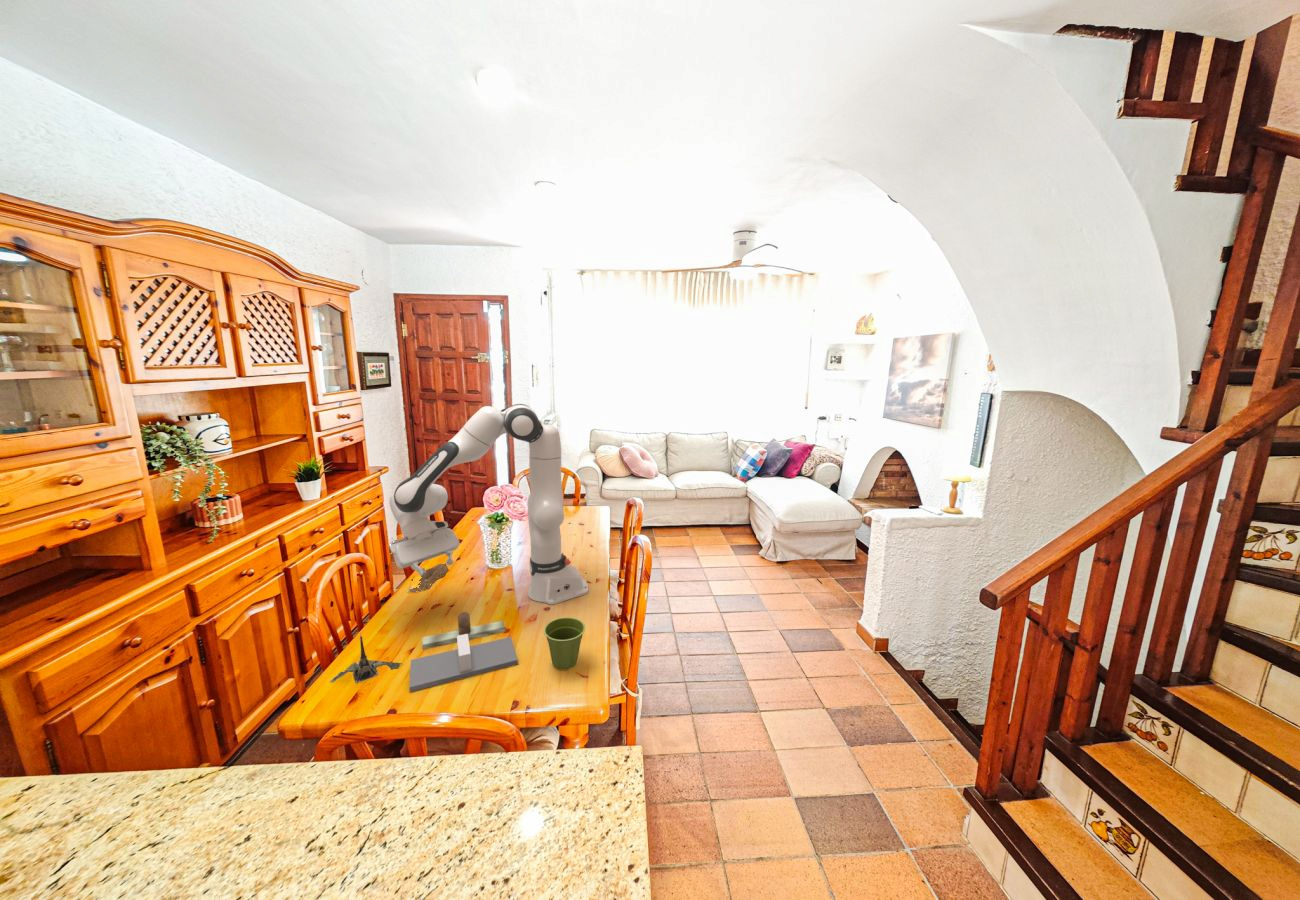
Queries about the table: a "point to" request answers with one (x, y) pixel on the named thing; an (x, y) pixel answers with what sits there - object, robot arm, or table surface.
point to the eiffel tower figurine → (365, 667)
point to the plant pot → (564, 641)
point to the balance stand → (461, 662)
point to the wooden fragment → (431, 577)
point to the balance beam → (463, 632)
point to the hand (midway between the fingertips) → (437, 569)
